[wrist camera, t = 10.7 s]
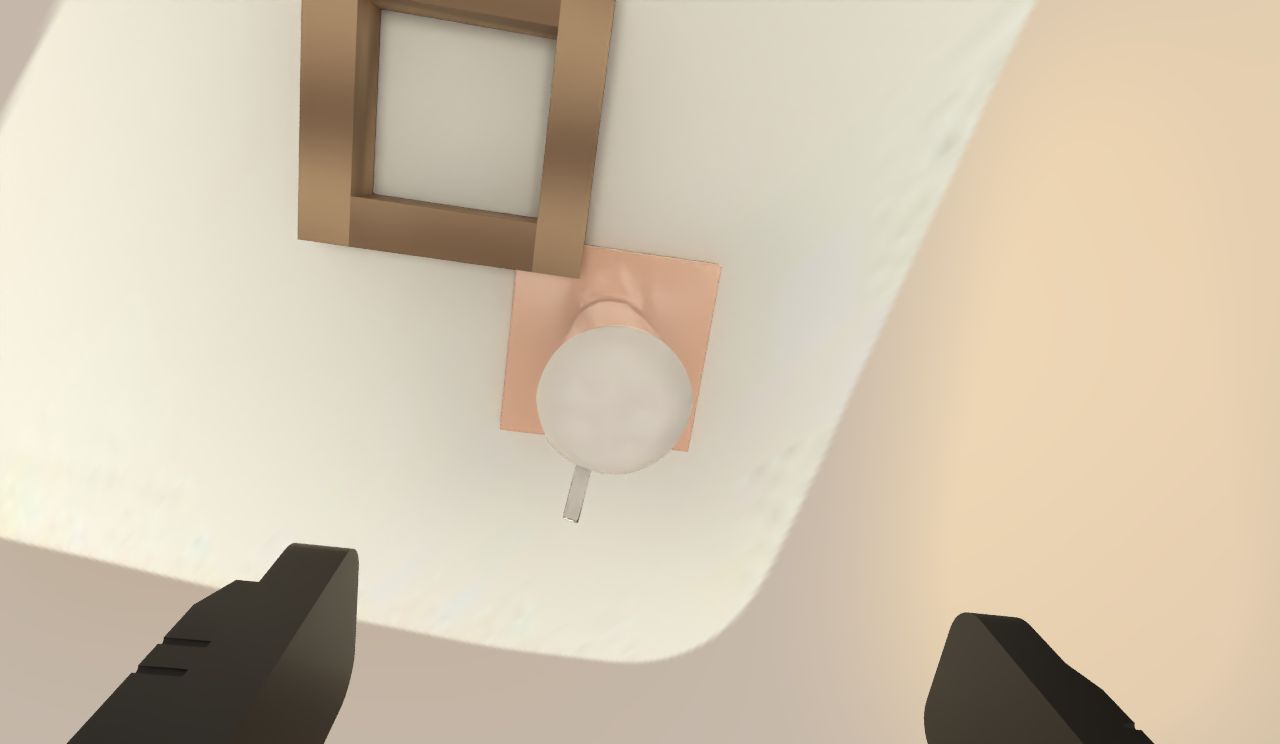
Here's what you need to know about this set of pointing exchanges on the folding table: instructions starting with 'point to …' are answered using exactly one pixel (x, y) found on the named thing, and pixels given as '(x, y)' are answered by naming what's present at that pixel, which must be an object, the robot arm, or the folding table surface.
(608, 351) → the milkshake
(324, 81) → the square brown frame
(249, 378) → the folding table surface
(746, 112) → the folding table surface
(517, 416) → the coaster
